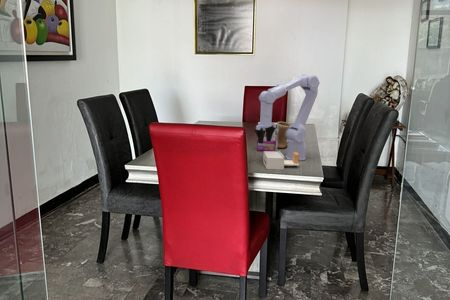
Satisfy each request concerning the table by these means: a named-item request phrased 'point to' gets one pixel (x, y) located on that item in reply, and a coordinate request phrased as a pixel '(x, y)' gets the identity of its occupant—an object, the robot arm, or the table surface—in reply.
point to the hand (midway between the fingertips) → (264, 142)
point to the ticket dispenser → (273, 160)
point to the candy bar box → (269, 144)
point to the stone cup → (282, 134)
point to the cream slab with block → (295, 160)
